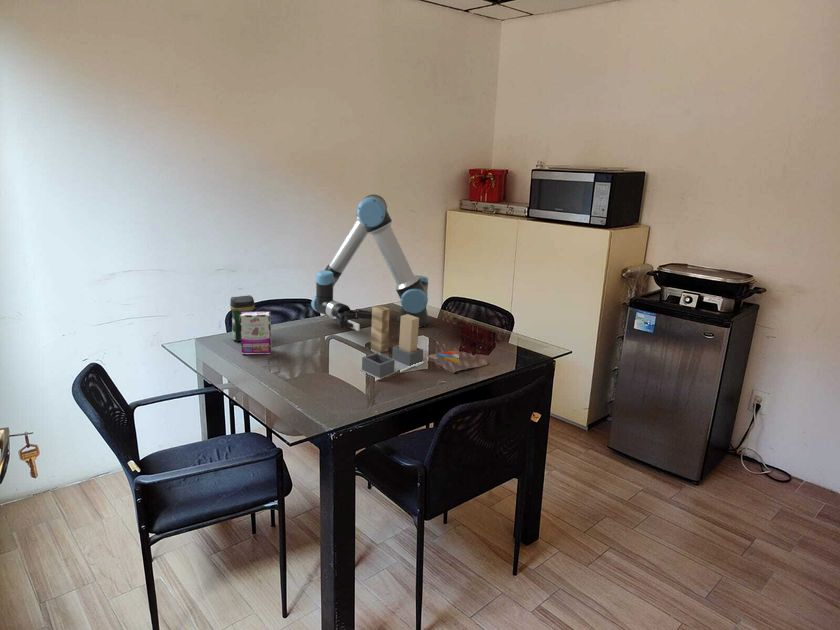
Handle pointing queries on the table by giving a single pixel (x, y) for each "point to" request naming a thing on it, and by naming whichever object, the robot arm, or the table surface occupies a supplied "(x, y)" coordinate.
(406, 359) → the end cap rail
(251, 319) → the candy bar box
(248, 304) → the coffee jar
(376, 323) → the oak slat
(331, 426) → the table surface
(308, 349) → the table surface
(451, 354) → the wooden puzzle
